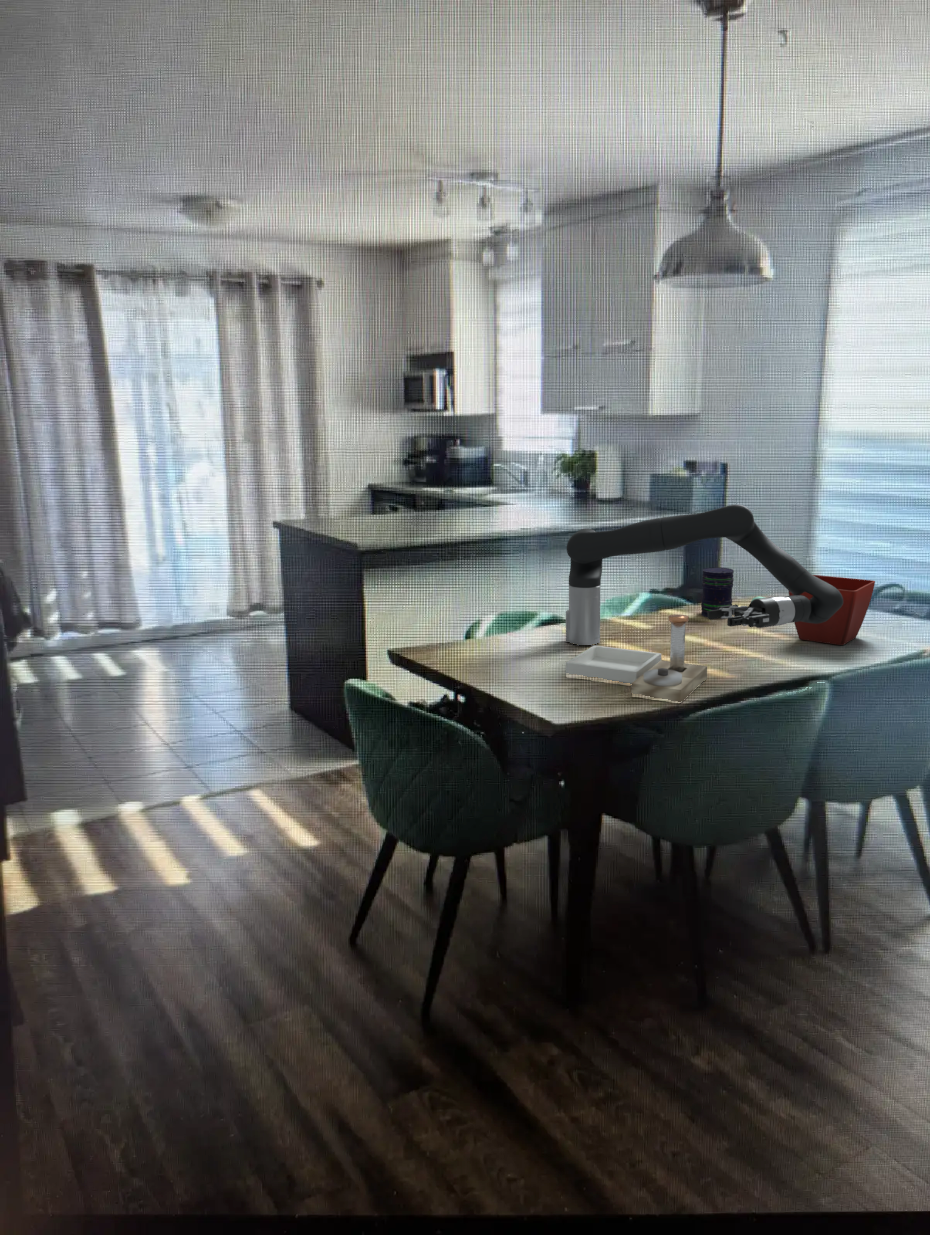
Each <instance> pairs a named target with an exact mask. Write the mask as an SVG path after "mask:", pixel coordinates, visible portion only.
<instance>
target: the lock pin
mask: <svg viewBox="0 0 930 1235" xmlns="http://www.w3.org/2000/svg"><path fill="white" fill-rule="evenodd" d="M668 622H670V623H671V624H670V651H669V653H670V655H669V656H670V657H669V661H670V670H674V671H677V672H683V671H684V663H685V647H686V646H685V644H686V623H688V622H689V615H687V614H686V615H685V614H680V613H678V614H676V613H675V614H674V613H673V614H669V615H668Z"/></svg>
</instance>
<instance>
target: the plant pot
mask: <svg viewBox="0 0 930 1235" xmlns="http://www.w3.org/2000/svg"><path fill="white" fill-rule="evenodd" d="M812 575H813V576H815V577H817V578H819V579H821V580H823V581H825V582H827V583H828V584H830V585H832V586H834V587H835V588H836V589H838V591H839V592H840V593H841V595H842V597H843V605H842V607H841V608H840V609H839V610H838V611H837V612H836V613H835V614H834V615H833V616H832V617H831V618H830V619H828V620H827V621H825V622H823V623H819V624H813V623H806V622H801V621H800V622H793V623H794V627H795V630H796V633H797V636H798V639H799V640H803V641H808V642H809V641H810V642H817V643H825V644H831V645H839V646H843V645H845V644H848V643H849V642H850V641H852V640H854V639H855V638H857V636H858V634H859V632H860V629H861V628H862V625H863V623H864V621H865V618H866V615H867V613H868V609H869V606H870V604H871V600H872V598H873V597H872V596H873V592H874V589H875V585H876V581H875V580H871V579H863V578H851V577H841V576H832V575H831V576H830V575H818V574H817V575H816V574H812ZM787 591H788V596H791V595H793V594H792V593H791V592H790V591H789V590H788V589H787ZM800 595H803V596H805V597H807V598H808V599H809V600H810V599H811V598H812V597H813V596H812V595H811V594H809V593H806V592H804V593H802V594H800Z"/></svg>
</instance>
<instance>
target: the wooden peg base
mask: <svg viewBox="0 0 930 1235" xmlns="http://www.w3.org/2000/svg"><path fill="white" fill-rule="evenodd" d="M706 679H707V680H708V665H702V664H695V663H687V662H684V671H683V672H677V671H674V670H670V660H662V659H661V661H660V662H658V663H657V664H656V665H654V666H653V667H652V668H651V669H649V670H648V671H646V672H644V674H643V675H641V676H640V677H639V678H638V679H636V680H635V681H634V682H632V685H631V687H630V688H631V690H630V693H633V694H642V695H645V696H650V697H654V698H662V699H668V700H671V701H678V702H681V701H683V700H684V699H685V698H686V697H687V696H688V695H689V694H690V693H691V692H692V691H694V689H695V688H696V687H697V686H698V685H699V684H701V683H702V682H703V681H705V680H706ZM707 680H706V681H707ZM703 683H704V682H703ZM703 683H702V684H703ZM702 684H701V685H702ZM694 692H695V691H694ZM686 699H687V698H686ZM686 699H685V700H686ZM685 700H684V701H685ZM684 701H683V702H684Z"/></svg>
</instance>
